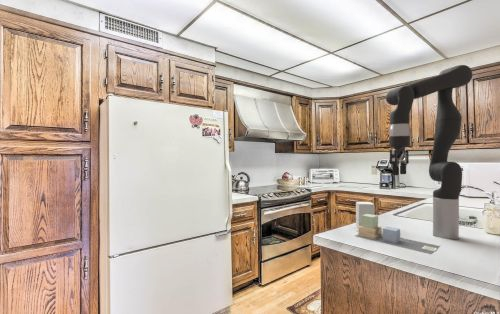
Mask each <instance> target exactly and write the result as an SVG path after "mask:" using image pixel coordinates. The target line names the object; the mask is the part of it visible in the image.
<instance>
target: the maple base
mask: <svg viewBox="0 0 500 314" xmlns="http://www.w3.org/2000/svg"><path fill="white" fill-rule="evenodd" d="M358 234H359V236H363V237H367V238H371V239H376V238H378V237H380V236H381V234H382V226H379V225H378V227H377V228H374V229H371V228H366V227H362V225H361V226H359V229H358Z"/></svg>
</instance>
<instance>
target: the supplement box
mask: <svg viewBox="0 0 500 314" xmlns="http://www.w3.org/2000/svg"><path fill="white" fill-rule="evenodd" d="M375 209H376V208H375V204H374V203H373V202H371V201H356V202H355V226H356V228H357V230H359V226H361V225H362V215H365V214H372V215H376V214H375V211H376V210H375Z"/></svg>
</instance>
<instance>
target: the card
mask: <svg viewBox="0 0 500 314" xmlns="http://www.w3.org/2000/svg"><path fill="white" fill-rule="evenodd" d="M422 249H424V250H428V251H433V253H435V252H436V251H437V250H438V249H437V248H433V247H428V246H424V247H422ZM435 250H436V251H435Z"/></svg>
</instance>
